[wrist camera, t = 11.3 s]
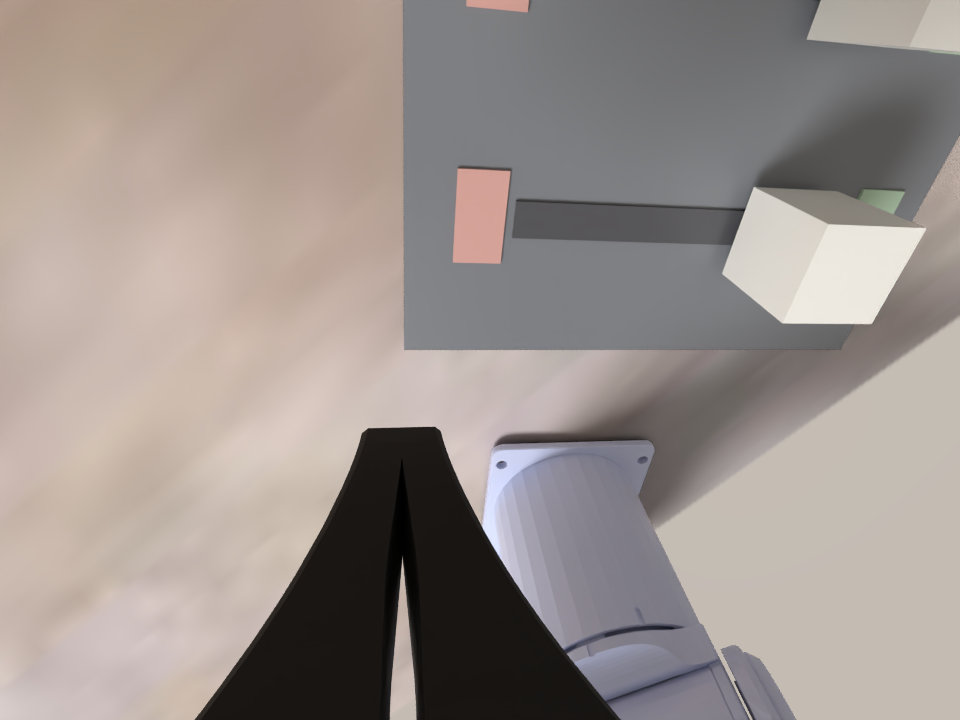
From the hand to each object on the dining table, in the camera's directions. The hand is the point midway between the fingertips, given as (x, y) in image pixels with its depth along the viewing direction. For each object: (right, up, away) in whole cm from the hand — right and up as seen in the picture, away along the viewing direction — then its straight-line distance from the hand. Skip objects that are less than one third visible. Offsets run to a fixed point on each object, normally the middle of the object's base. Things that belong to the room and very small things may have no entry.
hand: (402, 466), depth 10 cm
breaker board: (+8, +10, +7) cm, 15 cm away
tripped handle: (+12, +6, +8) cm, 15 cm away
